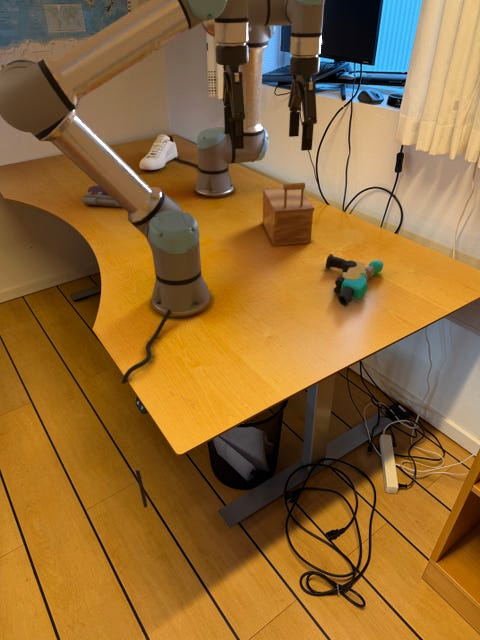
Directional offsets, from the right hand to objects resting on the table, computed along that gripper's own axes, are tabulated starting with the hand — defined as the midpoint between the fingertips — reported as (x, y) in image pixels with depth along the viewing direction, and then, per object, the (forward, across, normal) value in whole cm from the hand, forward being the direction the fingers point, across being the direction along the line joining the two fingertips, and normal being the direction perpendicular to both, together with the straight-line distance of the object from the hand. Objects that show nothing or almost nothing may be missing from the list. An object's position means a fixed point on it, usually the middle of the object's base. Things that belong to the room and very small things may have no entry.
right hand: (299, 143), depth 132 cm
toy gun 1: (+32, +49, +60) cm, 84 cm away
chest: (+32, +10, 0) cm, 34 cm away
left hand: (-4, -9, +20) cm, 22 cm away
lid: (+21, +10, 0) cm, 23 cm away
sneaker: (+32, +90, +41) cm, 104 cm away
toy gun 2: (+32, -25, -8) cm, 41 cm away
